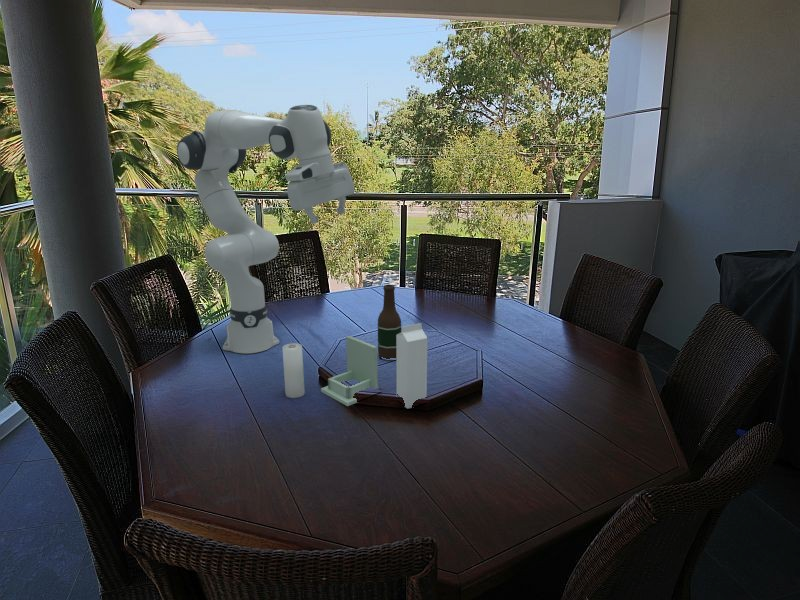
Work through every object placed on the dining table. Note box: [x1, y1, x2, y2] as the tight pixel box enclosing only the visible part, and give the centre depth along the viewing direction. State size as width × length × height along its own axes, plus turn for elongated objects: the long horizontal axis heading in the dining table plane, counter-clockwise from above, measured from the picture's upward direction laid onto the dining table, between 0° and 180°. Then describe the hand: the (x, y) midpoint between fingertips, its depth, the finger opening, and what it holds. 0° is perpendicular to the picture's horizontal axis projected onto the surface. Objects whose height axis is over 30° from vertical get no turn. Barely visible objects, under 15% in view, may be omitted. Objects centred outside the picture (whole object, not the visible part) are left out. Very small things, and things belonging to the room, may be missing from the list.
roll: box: [282, 342, 305, 399], centre depth 148 cm, size 5×5×14 cm
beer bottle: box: [377, 284, 402, 359], centre depth 172 cm, size 8×8×24 cm
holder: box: [320, 335, 379, 407], centre depth 149 cm, size 12×12×14 cm
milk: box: [395, 322, 428, 410], centre depth 142 cm, size 6×6×22 cm
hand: (328, 218), depth 149 cm, fingers open, 8 cm apart
